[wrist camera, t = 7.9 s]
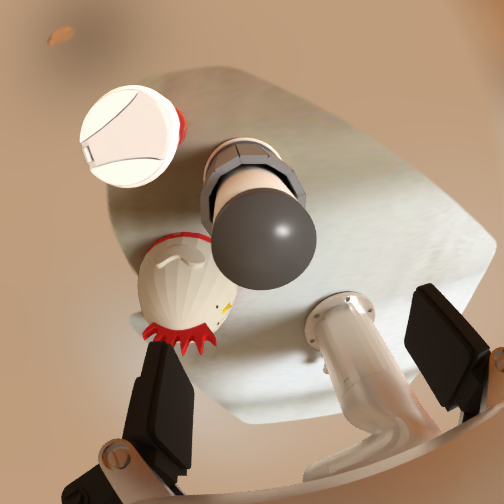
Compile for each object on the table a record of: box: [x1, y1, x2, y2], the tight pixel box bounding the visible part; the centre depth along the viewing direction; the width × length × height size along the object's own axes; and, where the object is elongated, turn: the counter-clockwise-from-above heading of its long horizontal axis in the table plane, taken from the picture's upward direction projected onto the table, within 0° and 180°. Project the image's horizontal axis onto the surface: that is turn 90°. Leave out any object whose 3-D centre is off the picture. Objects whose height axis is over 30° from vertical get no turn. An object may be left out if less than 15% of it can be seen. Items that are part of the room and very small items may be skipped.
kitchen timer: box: [138, 232, 237, 356], centre depth 34 cm, size 14×14×15 cm
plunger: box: [211, 164, 316, 290], centre depth 25 cm, size 6×6×17 cm
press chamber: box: [200, 137, 306, 237], centre depth 30 cm, size 10×10×12 cm
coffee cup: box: [80, 85, 187, 188], centre depth 25 cm, size 8×8×15 cm
